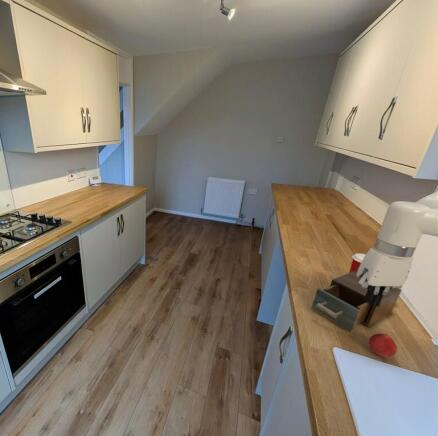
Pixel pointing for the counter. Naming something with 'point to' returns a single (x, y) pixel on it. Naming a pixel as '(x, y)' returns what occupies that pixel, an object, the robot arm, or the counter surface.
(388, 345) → the onion
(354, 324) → the drawer
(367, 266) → the robot arm
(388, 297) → the cabinet
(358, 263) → the paper cup
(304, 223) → the counter surface
